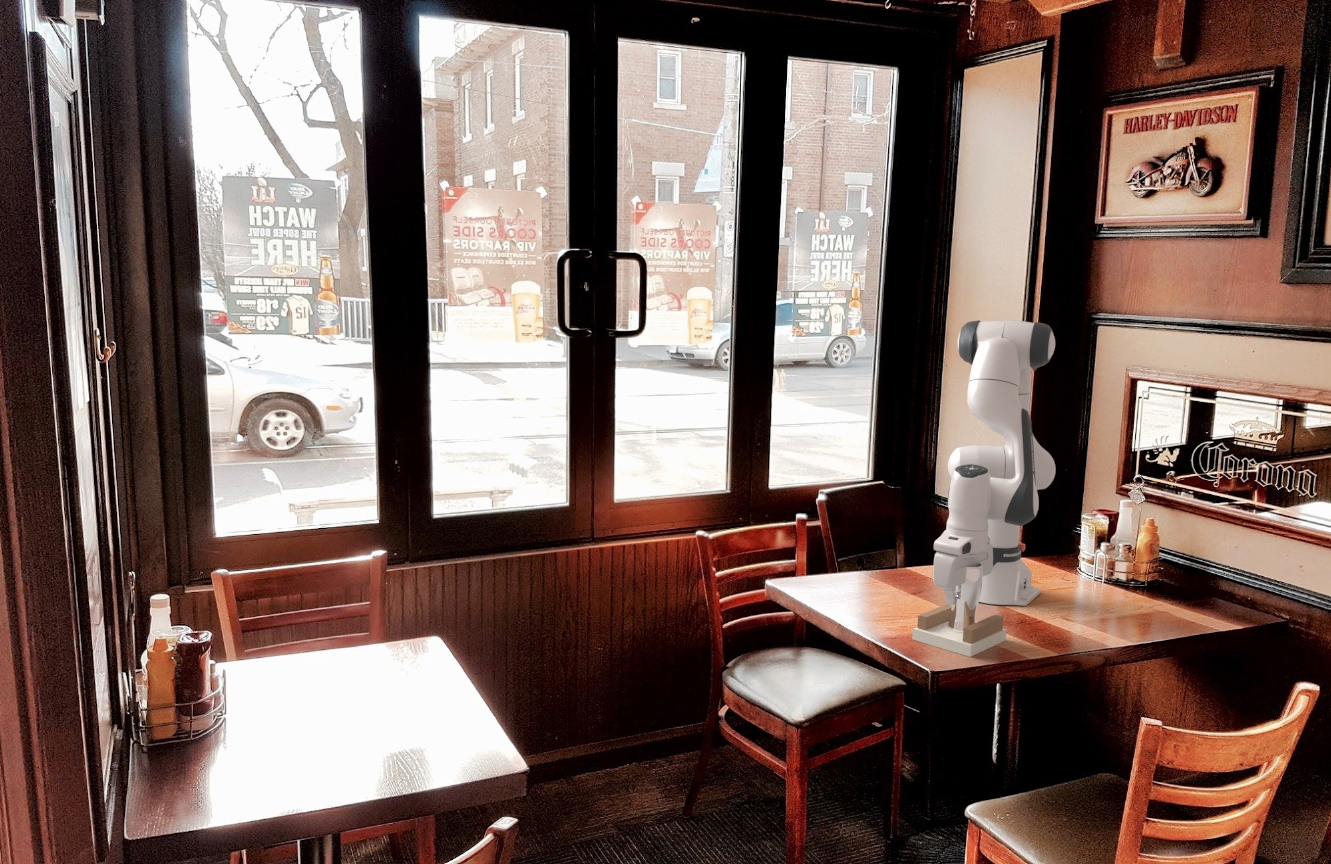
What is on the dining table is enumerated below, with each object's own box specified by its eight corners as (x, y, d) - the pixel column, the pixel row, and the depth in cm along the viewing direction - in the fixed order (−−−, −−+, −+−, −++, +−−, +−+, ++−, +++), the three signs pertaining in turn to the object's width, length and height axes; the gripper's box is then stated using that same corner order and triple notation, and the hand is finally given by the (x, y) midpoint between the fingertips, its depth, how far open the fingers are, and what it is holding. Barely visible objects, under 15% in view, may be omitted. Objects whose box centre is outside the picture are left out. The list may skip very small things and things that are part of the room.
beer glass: (979, 635, 215) (984, 568, 213) (946, 632, 217) (951, 565, 215) (977, 625, 222) (982, 560, 220) (945, 622, 223) (950, 557, 221)
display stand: (949, 624, 230) (950, 601, 229) (1005, 640, 220) (1007, 616, 219) (912, 639, 219) (913, 615, 218) (970, 657, 209) (972, 632, 208)
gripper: (976, 529, 226) (972, 588, 228) (929, 543, 211) (925, 605, 213) (1002, 535, 221) (997, 594, 223) (956, 549, 207) (951, 613, 209)
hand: (962, 600), depth 218 cm, fingers open, 8 cm apart
